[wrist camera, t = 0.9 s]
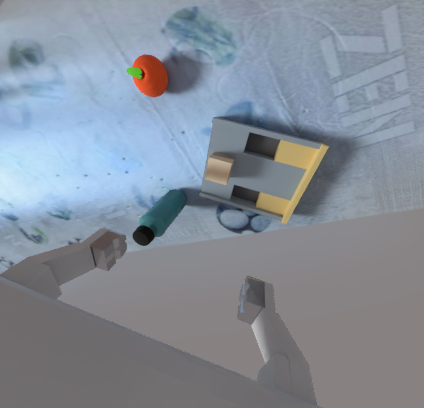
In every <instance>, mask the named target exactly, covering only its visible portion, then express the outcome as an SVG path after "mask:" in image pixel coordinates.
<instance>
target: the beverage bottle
mask: <svg viewBox="0 0 424 408" xmlns="http://www.w3.org/2000/svg"><path fill="white" fill-rule="evenodd" d="M185 204H186V196H185V195H184V193H183V192H181V191H180V190H176V189H174V190H170V191H169V192H168V193H167V194H166V195H165V196H164V197H162V198H161V199H160V200H159V201H158V202H156V204H155V205H154V206H153V207H152V208H151V209H150V210H149V211H148V212H147V213H146V214H145V215H143V216H142V217H141V218H140V226H139V227H138V228H137V229H136V230H135V232H134V233H133V239H134V240H135V242H137V243H138V244H140V245H142V246H146V245H148V244H149V243H150V242H151V241H152V240H153V239H154V237H160V236H162V235H163V234H164V232H165V231H166V229H167V228H168V227H169V226H170V224H171V223H172V222H174V219H175V218H176V217H177V215H178V214H179V213H180V212H181V210H183V207H185Z"/></svg>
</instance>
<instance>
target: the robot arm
mask: <svg viewBox="0 0 424 408" xmlns="http://www.w3.org/2000/svg"><path fill="white" fill-rule="evenodd" d="M125 240H126V235H124V234H121V233H118V232H116V231H113V230H110V229H107V228H101V229H99V230H98V231H97V232H95V233H94V234H93V235H91V236H90V237H88V238H87V239H86V240H84V241H83V242H82V243H79V242H78V243H75V244H71V245H68V246H65V247H61V248H58V249H54V250H51V251H47V252H44V253H41V254H37V255H34V256H30V257H28V258H26V259H24V260H23V261H21V262H19V263H18V264H16V265H15V266H13V267H11V268H10V269H8V270H7V271H5V272H3V273H2V274H0V408H322V407H320V406H317V403H316V398H315V393H314V388H313V383H312V378H311V373H310V368H309V364H308V362H307V361H306V359H305V357H304V356H303V354H302V352H301V351H300V349H299V347H298V346H297V344H296V342H295V341H294V339H293V337H292V336H291V334H290V333H289V331H288V329H287V327H286V326H285V324H284V322H283V321H282V319H281V317H280V316H279V314H278V313H276V312H275V301H274V290H273V285H272V284H270V283H267V282H264V281H262V280H259V279H256V278H253V277H249V276H247V277H246V278H245V283H244V284H243V285H242V287H241V291H240V296H239V301H240V305H239V307H238V315H237V319H239V320H241V321H244V322H246V323H249V324H251V326H252V329H253V331H254V334H255V337H256V339H257V342H258V344H259V347H260V350H261V352H262V355H263V358H264V360H265V363H266V364H265V365H264V366H263V367H262V368H261V369H260V370H259V371H258V372H257V375H256V376H257V377H256V380H253V379H251V378H249V377H246V376H243V375H241V374H238V373H236V372H234V371H231V370H229V369H226V368H224V367H221V366H219V365H216V364H214V363H212V362H209V361H207V360H204V359H202V358H200V357H197V356H195V355H192V354H190V353H187V352H185V351H182V350H180V349H177V348H175V347H172V346H170V345H168V344H165V343H163V342H160V341H158V340H155V339H153V338H150V337H148V336H146V335H143V334H141V333H138V332H136V331H133V330H131V329H128V328H126V327H123V326H121V325H118V324H116V323H114V322H111V321H109V320H106V319H104V318H101V317H99V316H96V315H94V314H92V313H89V312H87V311H84V310H82V309H79V308H77V307H74V306H72V305H69V304H67V303H65V302H62V301H60V300H57V298H58V297H59V296H60V295H61V294H62V291H61V289H60V287H59V286H60V285H62V284H64V283H66V282H68V281H70V280H72V279H74V278H76V277H78V276H80V275H82V274H84V273H86V272H88V271H90V270H92V269H94V268H96V267H97V268H100V269H103V270H106V271H109V270H110V268H111V267H112V266H113V265H114V264H115V263H116V259H119V258H121V257H122V256H123V255H124V253H125V252H126V249H127V244H126V242H125Z"/></svg>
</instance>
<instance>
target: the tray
mask: <svg viewBox="0 0 424 408" xmlns="http://www.w3.org/2000/svg"><path fill="white" fill-rule="evenodd" d="M212 123H213V127H212V132H211V138H210V143H209V149H208V155H207V160H206V166H205V171H204V177H203V182H202V188H201V192H200V194H199V196H201V197H204V198H207V199H211V200H214V201H217V202H220V203H224V204H227V205H230V206H234V207H237V208H240V209H244V210H247V211H250V212H254V213H257V214H260V215H264V216H267V217H270V218H274V219H277V220H280V221H282V223H283V224H287V222H288V220H289V218H290V216H291V215H292V213H293V211H294V209H295V207H296V205H297V204H298V202H299V200H300V198H301V196H302V195H303V193H304V191H305V189H306V187H307V186H308V184H309V182H310V180H311V178H312V177H313V175H314V173H315V171H316V169H317V167H318V166H319V164H320V162H321V160H322V158H323V157H324V155H325V153H326V151H327V149H328V148H329V146H327V145H325V144H324V143H322V142H319V141H315V140H311V139H306V138H302V137H298V136H294V135H290V134H286V133H282V132H278V131H273V130H269V129H265V128H261V127H257V126H253V125H249V124H245V123H241V122H236V121H232V120H228V119H224V118H220V117H214V118H213V121H212ZM214 152H216V153H220V154H224V155H227V156H231V157H235V160H234V164H233V167H232V171H231V175H230V178H229V180H228V182H227V185H223V184H220V183H216V182H213V181H210V180H206V179H205V175H206V169H207V164H208V159H209V157H210V156H211V155H212V154H213V153H214Z"/></svg>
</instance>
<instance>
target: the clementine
mask: <svg viewBox="0 0 424 408" xmlns="http://www.w3.org/2000/svg"><path fill="white" fill-rule="evenodd" d="M127 72H128V73H129V74H130V75H132V76H133V79H134V82H135V84H136V86H137V87H138V89H139V90H140V91H141V92H142V93H144V94H145V95H147V96H150V97H157V96H160V95H162V94H163V93H164V92H165V90H166V88H167V86H168V75H167V71H166V69H165V67H164V65H163V64H162V62H161V61H159V60H158V59H157V58H156V57H154V56H152V55H142V56H140V57H138V58H137V59H136V60H135V62H134V64H133V68H127Z"/></svg>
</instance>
